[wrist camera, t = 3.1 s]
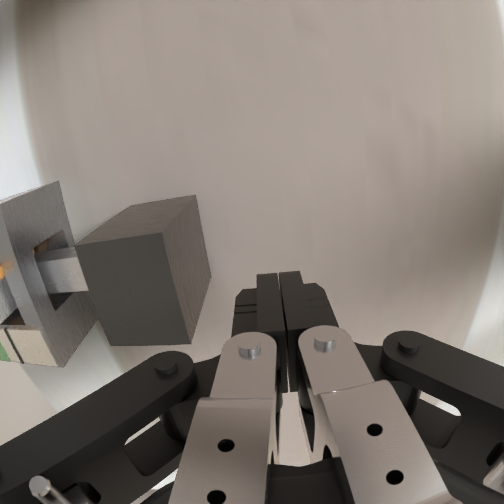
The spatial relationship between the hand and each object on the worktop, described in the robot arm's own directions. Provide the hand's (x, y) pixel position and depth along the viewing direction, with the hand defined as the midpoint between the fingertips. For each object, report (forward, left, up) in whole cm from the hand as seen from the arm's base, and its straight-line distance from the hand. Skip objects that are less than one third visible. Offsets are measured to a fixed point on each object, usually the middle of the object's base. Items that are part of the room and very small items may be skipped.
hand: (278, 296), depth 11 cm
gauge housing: (+18, 0, -7) cm, 19 cm away
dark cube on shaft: (+10, 0, -7) cm, 12 cm away
